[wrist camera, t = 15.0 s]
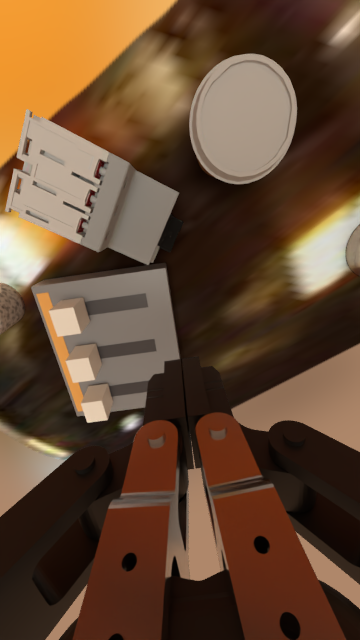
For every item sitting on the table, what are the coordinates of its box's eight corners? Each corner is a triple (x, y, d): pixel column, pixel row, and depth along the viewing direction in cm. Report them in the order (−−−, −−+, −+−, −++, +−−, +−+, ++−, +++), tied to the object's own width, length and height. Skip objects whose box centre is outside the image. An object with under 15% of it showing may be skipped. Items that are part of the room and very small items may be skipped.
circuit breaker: (164, 255, 38) (162, 280, 24) (66, 210, 35) (1, 209, 21) (187, 204, 36) (199, 199, 22) (83, 151, 33) (23, 107, 19)
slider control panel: (165, 262, 38) (165, 268, 35) (184, 386, 47) (186, 401, 43) (44, 279, 39) (30, 287, 35) (84, 400, 47) (77, 416, 43)
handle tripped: (95, 343, 38) (88, 357, 34) (101, 364, 39) (94, 379, 36) (75, 346, 38) (65, 360, 34) (81, 366, 39) (73, 382, 36)
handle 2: (107, 383, 41) (101, 400, 37) (113, 401, 42) (107, 419, 38) (88, 386, 41) (80, 403, 37) (94, 404, 42) (87, 422, 38)
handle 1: (83, 297, 35) (73, 307, 32) (89, 321, 37) (81, 333, 33) (61, 300, 35) (48, 310, 32) (68, 324, 37) (57, 336, 33)
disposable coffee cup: (229, 206, 36) (256, 204, 25) (169, 164, 34) (169, 141, 23) (273, 135, 33) (326, 97, 22) (210, 84, 31) (233, 13, 20)
